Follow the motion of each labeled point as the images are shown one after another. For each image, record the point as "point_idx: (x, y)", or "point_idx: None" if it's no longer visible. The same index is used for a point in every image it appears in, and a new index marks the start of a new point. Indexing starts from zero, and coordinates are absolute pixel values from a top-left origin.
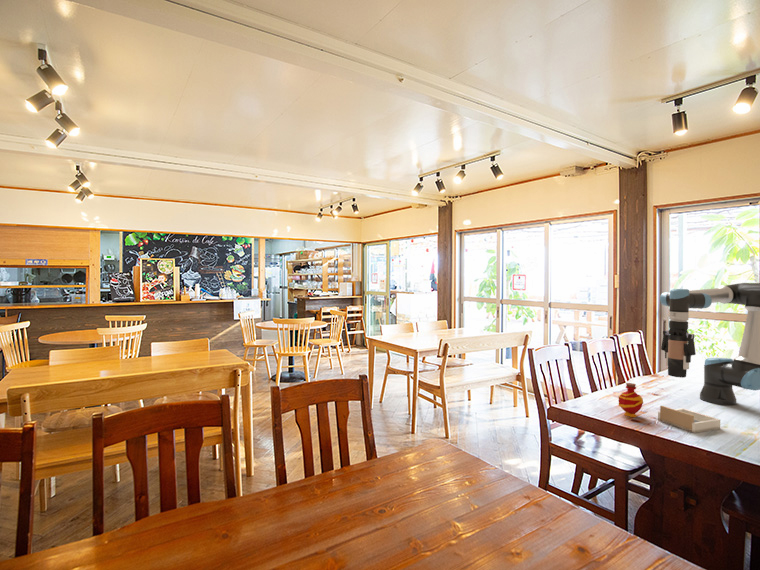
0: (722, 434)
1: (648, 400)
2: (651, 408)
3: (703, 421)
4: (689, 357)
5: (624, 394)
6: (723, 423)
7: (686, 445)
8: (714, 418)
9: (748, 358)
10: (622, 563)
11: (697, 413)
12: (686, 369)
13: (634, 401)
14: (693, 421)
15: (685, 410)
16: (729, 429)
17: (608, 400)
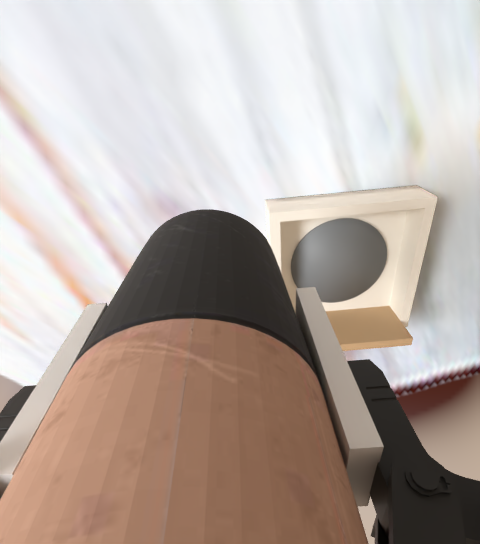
0: (445, 234)
1: (10, 136)
2: (147, 234)
3: (411, 282)
4: (400, 443)
5: None
6: (390, 93)
7: (426, 385)
8: (416, 206)
9: None
10: None
11: (344, 215)
12: (282, 280)
13: None
14: (402, 325)
15: (289, 219)
16: (439, 152)
17: (35, 316)
